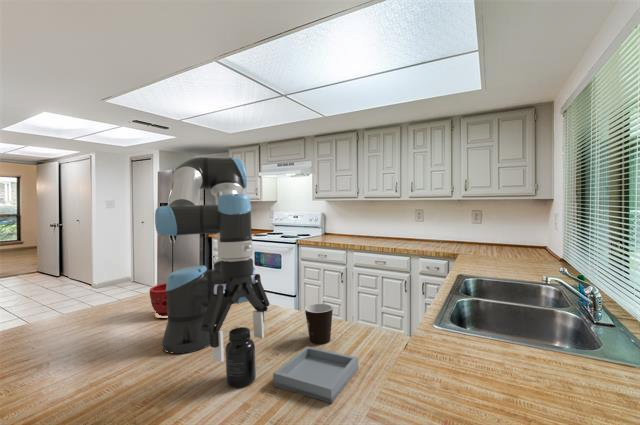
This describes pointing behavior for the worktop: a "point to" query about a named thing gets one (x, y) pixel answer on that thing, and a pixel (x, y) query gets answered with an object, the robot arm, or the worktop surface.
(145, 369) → the worktop surface
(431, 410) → the worktop surface
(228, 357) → the supplement bottle
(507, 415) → the worktop surface
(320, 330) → the coffee mug
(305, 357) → the slate tray
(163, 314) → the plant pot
